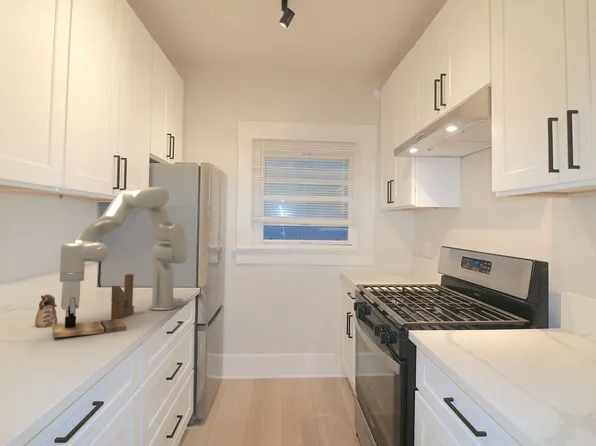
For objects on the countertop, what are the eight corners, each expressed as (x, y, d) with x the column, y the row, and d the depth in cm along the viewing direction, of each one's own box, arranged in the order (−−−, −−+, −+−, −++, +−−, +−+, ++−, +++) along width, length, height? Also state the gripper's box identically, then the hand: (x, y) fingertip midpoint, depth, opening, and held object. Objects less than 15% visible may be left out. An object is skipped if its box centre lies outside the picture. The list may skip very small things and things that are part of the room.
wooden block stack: (110, 319, 147) (112, 276, 147) (126, 313, 157) (128, 273, 157) (118, 319, 146) (120, 277, 146) (134, 313, 157) (135, 273, 157)
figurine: (61, 323, 138) (62, 293, 138) (43, 328, 131) (44, 296, 131) (49, 321, 140) (50, 292, 141) (30, 326, 134) (31, 295, 134)
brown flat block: (119, 322, 142) (119, 318, 142) (126, 330, 132) (126, 325, 132) (100, 325, 138) (100, 320, 138) (105, 333, 128) (105, 328, 128)
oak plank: (98, 324, 137) (99, 321, 137) (103, 332, 128) (104, 328, 128) (52, 328, 128) (52, 324, 128) (54, 337, 119) (54, 333, 119)
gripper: (58, 274, 130) (56, 323, 130) (61, 280, 118) (59, 334, 118) (81, 273, 135) (79, 320, 135) (86, 278, 123) (84, 330, 123)
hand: (70, 327), depth 126 cm, fingers closed
